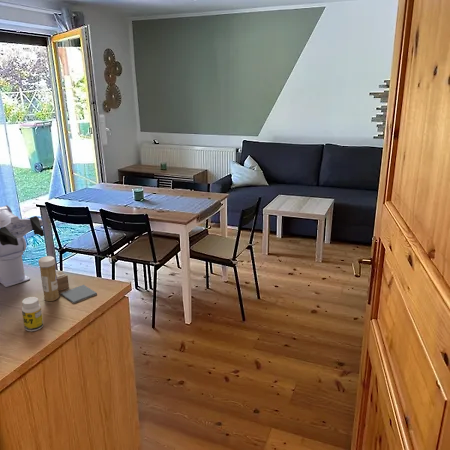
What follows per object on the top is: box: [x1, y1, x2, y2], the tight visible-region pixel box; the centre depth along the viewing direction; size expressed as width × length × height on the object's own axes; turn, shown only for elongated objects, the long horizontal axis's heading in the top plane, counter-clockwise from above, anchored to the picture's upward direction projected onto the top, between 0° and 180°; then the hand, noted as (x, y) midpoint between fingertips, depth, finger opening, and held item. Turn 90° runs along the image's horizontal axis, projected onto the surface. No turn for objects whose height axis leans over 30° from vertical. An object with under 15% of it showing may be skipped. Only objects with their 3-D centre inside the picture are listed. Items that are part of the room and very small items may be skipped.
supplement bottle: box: [21, 296, 44, 332], centre depth 115 cm, size 5×5×8 cm
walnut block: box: [56, 271, 70, 292], centre depth 138 cm, size 4×4×5 cm
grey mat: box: [60, 284, 98, 304], centre depth 134 cm, size 8×8×1 cm
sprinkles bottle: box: [38, 255, 60, 302], centre depth 130 cm, size 5×5×13 cm
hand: (29, 237), depth 123 cm, fingers open, 7 cm apart
